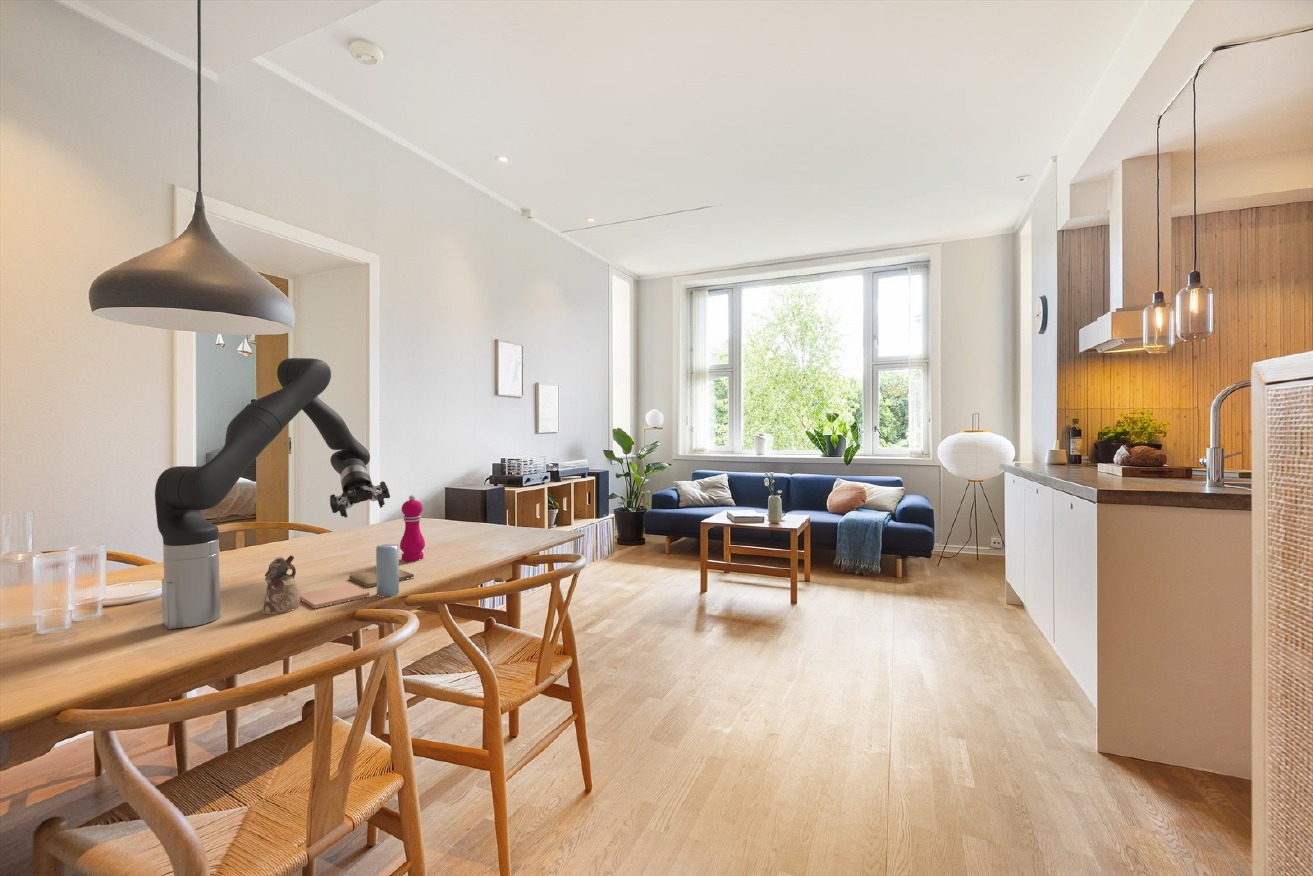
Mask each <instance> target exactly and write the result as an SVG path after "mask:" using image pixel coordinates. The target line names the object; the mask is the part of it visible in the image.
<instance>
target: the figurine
mask: <svg viewBox="0 0 1313 876" xmlns="http://www.w3.org/2000/svg"><path fill="white" fill-rule="evenodd" d="M294 559H295V556H293V555H292V554H290V555H289V556H288V557H287V558H286V559H285V558H284V557H282V556H278V557H276V558H275V559H274V560H273V561H271V563H269V565H268V569H267V571H266V572H265V574H264V576H265V578H264V580H265V582H266V584H267V586H266V591H265V596H264V600H263V606H262V614H265V613H267V614H266V615H279V614H278V613H280V614H284V613H283V612H286V613H288V612H287V611H289V610H292V609H295V610H297V609H298V608H299V607H300V604H301V603H300V601H301V600H300V596H299V594H300V591H299V588H298V584H297V582H296V579H295V576H296V573H297V570H296V567H295V566H294V564H293V563H292V562H293V561H294ZM289 570H291V571H292V573H290V574H288V571H289ZM298 606H299V607H298ZM297 607H298V608H297ZM296 608H297V609H296ZM292 611H293V610H292ZM289 612H290V611H289Z"/></svg>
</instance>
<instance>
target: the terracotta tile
mask: <svg viewBox="0 0 1313 876" xmlns="http://www.w3.org/2000/svg"><path fill="white" fill-rule="evenodd" d="M370 595H371V593H370V592H368V591H367V590H364V589H362V588H360V587H358V586H355V585H353V584H352V583H346V584H341V585H336V586H332V587H327V588H325V587H324V588H321V589H317V590H311V591H307V592H306V591H305V592H301V593H299V596H300V601H301V600H303V601H304V602H305V604H306V603H307V604H306V605H308V604H309V605H311V606H312V607H311V606H310V607H311V608H313V607H314V608H315V609H314V608H313V609H314V610H317V609H316V608H318V609H320V608H319V607H322V606H326V605H330V604H336V605H338V604H337V603H340V604H342V603H341V602H345V601H348V600H354V601H356V600H357V599H358V600H361V599H360V598H363V597H367V596H370ZM367 598H368V597H367ZM363 599H364V598H363ZM303 601H302V602H303ZM304 602H303V603H304ZM345 603H346V602H345ZM309 605H308V606H309Z"/></svg>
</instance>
